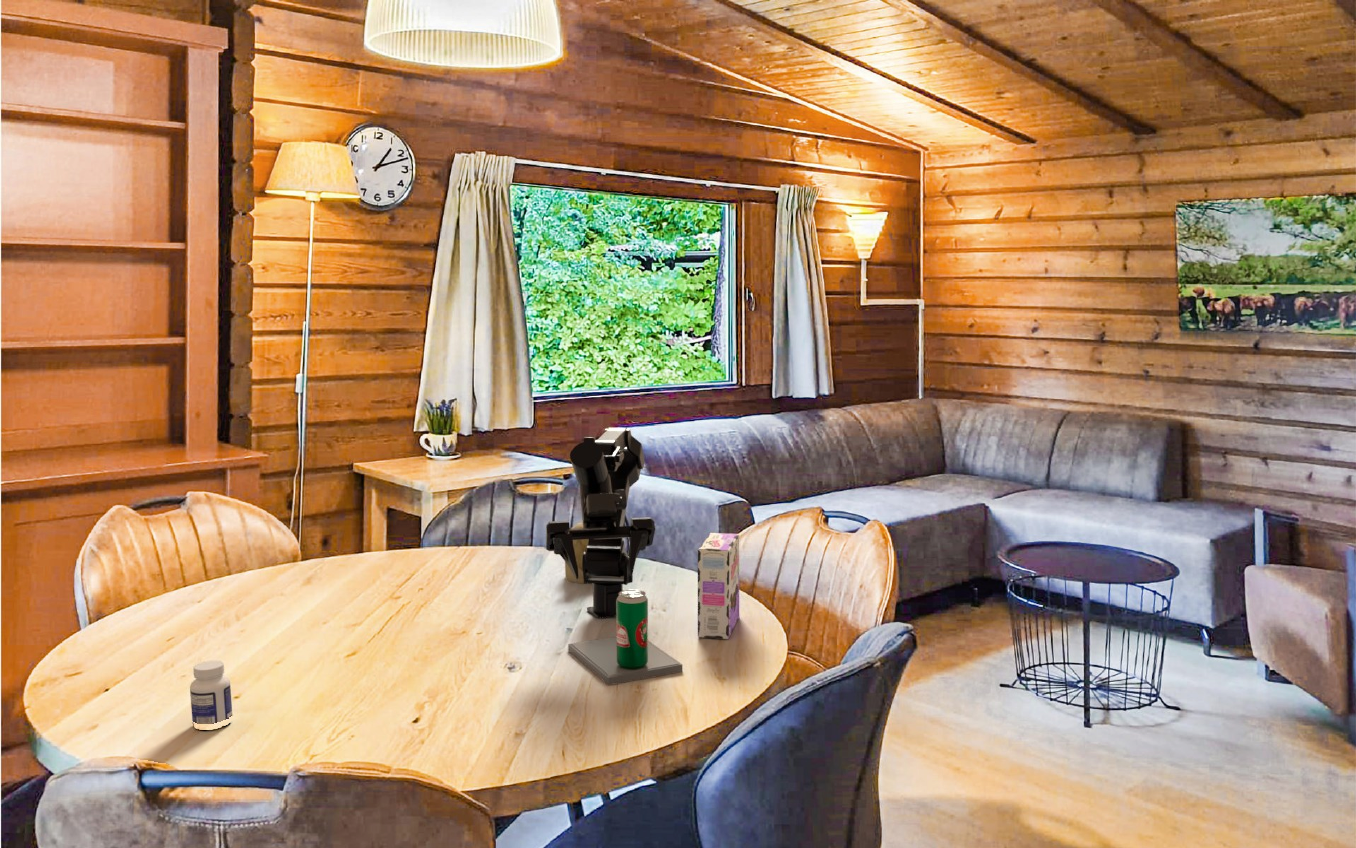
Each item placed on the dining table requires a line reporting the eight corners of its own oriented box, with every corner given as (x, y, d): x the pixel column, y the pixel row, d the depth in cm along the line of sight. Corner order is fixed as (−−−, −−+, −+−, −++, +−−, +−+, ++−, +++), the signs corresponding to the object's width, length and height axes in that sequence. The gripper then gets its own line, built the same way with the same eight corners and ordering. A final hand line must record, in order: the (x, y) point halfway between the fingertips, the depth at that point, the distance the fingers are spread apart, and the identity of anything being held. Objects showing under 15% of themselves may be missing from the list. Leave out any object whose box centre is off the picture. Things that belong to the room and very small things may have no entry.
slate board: (568, 650, 181) (568, 643, 180) (637, 639, 186) (637, 632, 186) (608, 685, 165) (608, 677, 164) (682, 671, 170) (682, 663, 170)
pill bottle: (219, 714, 154) (215, 656, 153) (240, 722, 151) (236, 663, 150) (184, 726, 150) (181, 666, 149) (205, 735, 147) (201, 674, 146)
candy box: (729, 640, 186) (729, 549, 184) (696, 638, 187) (696, 548, 185) (740, 617, 199) (740, 532, 197) (709, 615, 200) (709, 531, 198)
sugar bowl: (619, 587, 220) (618, 517, 218) (566, 589, 218) (564, 519, 216) (614, 569, 234) (613, 503, 232) (564, 571, 233) (563, 504, 231)
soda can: (612, 662, 171) (611, 590, 170) (640, 657, 173) (640, 587, 172) (623, 672, 166) (622, 599, 165) (652, 667, 169) (652, 595, 167)
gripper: (545, 475, 179) (550, 554, 169) (653, 471, 182) (664, 548, 173) (543, 511, 187) (548, 588, 178) (646, 507, 191) (656, 582, 181)
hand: (604, 576), depth 177 cm, fingers open, 9 cm apart
